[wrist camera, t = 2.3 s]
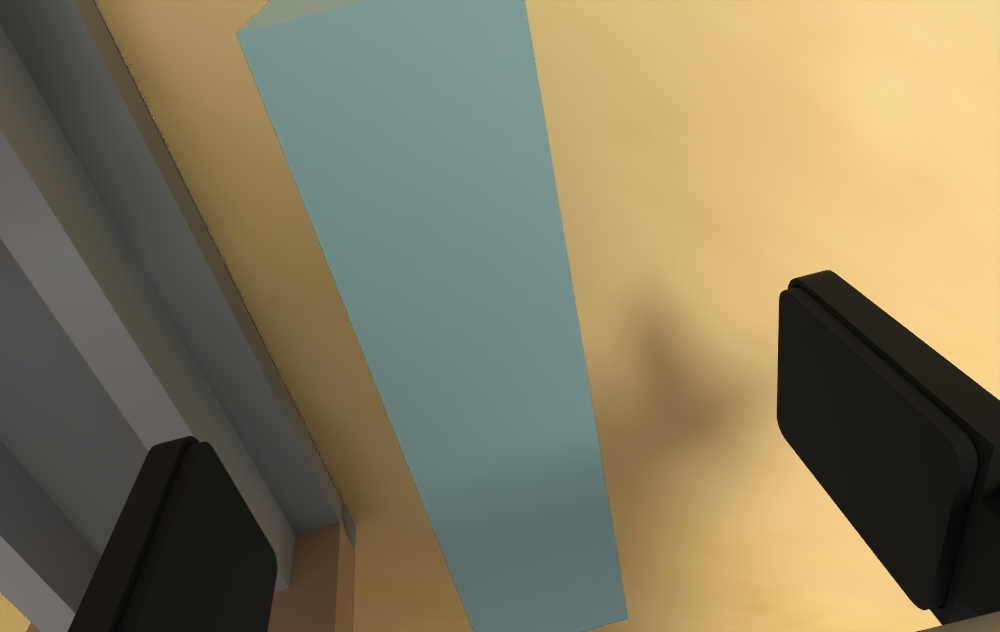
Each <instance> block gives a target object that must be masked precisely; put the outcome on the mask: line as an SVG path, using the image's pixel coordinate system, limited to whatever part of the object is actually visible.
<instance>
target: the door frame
mask: <svg viewBox="0 0 1000 632" xmlns="http://www.w3.org/2000/svg"><path fill="white" fill-rule="evenodd" d="M186 436H194V437H195V438H196V439H198V441H199V442H204V441H205V442H208V443H210V444H211V446H212V447H213V448H214V450H215V452H216V453H217V455H218V457H219V458H220V460H221V462H222V463H223V465H224V467H225V469H226V470H227V472H228V474H229V475H230V477H231V479H232V480H233V482H234V484H235V485H236V487H237V489H238V490H239V492H240V494H241V495H242V497H243V499H244V500H245V502H246V504H247V506H248V507H249V509H250V511H251V512H252V514H253V516H254V517H255V519H256V521H257V522H258V524H259V526H260V527H261V529H262V531H263V532H264V534H265V536H266V537H267V539H268V541H269V543H270V544H271V546H272V548H273V550H274V552H275V555H276V559H277V577H276V583H275V589H274V595H273V601H272V607H271V613H270V619H269V625H268V631H267V632H353V605H354V568H355V532H356V528H355V526H354V524H353V522H352V520H351V518H350V516H349V514H348V512H347V510H346V508H345V506H344V504H343V502H342V500H341V498H340V496H339V494H338V492H337V490H336V488H335V486H334V484H333V482H332V480H331V478H330V476H329V474H328V472H327V470H326V468H325V466H324V464H323V462H322V460H321V458H320V456H319V454H318V452H317V450H316V448H315V446H314V444H313V441H312V439H311V437H310V435H309V433H308V431H307V429H306V427H305V425H304V423H303V421H302V419H301V417H300V415H299V413H298V411H297V409H296V407H295V405H294V403H293V401H292V399H291V397H290V395H289V393H288V391H287V389H286V387H285V385H284V383H283V381H282V379H281V377H280V375H279V373H278V371H277V369H276V367H275V365H274V363H273V361H272V359H271V357H270V355H269V353H268V351H267V349H266V347H265V345H264V343H263V341H262V339H261V337H260V335H259V333H258V331H257V329H256V327H255V325H254V323H253V321H252V319H251V317H250V315H249V313H248V311H247V309H246V307H245V304H244V302H243V300H242V298H241V296H240V294H239V292H238V290H237V288H236V286H235V284H234V282H233V280H232V278H231V276H230V274H229V272H228V270H227V268H226V266H225V264H224V262H223V260H222V258H221V256H220V254H219V252H218V250H217V248H216V246H215V244H214V242H213V240H212V238H211V236H210V234H209V232H208V230H207V228H206V226H205V224H204V222H203V220H202V218H201V216H200V214H199V212H198V210H197V208H196V206H195V204H194V202H193V200H192V198H191V196H190V194H189V192H188V190H187V188H186V186H185V184H184V182H183V180H182V178H181V176H180V174H179V172H178V170H177V168H176V165H175V163H174V161H173V159H172V157H171V155H170V153H169V151H168V149H167V147H166V145H165V143H164V141H163V139H162V137H161V135H160V133H159V131H158V129H157V127H156V125H155V123H154V121H153V119H152V117H151V115H150V113H149V111H148V109H147V107H146V105H145V103H144V101H143V99H142V97H141V95H140V93H139V91H138V89H137V87H136V85H135V83H134V81H133V79H132V77H131V75H130V73H129V71H128V69H127V67H126V65H125V63H124V61H123V59H122V57H121V55H120V53H119V51H118V49H117V47H116V45H115V43H114V41H113V39H112V37H111V35H110V33H109V31H108V29H107V26H106V24H105V22H104V20H103V18H102V16H101V14H100V12H99V10H98V8H97V6H96V4H95V2H94V0H0V592H1V593H2V594H3V595H4V596H5V597H6V598H7V599H8V600H9V601H10V602H11V603H12V604H13V605H14V606H15V607H16V608H17V609H18V610H19V611H20V612H21V613H23V614H24V615H25V616H26V617H27V618H28V619H29V620H30V621H31V623H30V626H29V628H28V630H27V632H68V630H69V628H70V625H71V623H72V621H73V619H74V616H75V614H76V612H77V610H78V607H79V605H80V603H81V601H82V599H83V596H84V594H85V592H86V590H87V587H88V585H89V583H90V581H91V579H92V576H93V574H94V572H95V570H96V567H97V565H98V563H99V561H100V559H101V556H102V554H103V552H104V550H105V547H106V545H107V543H108V541H109V538H110V536H111V534H112V532H113V530H114V527H115V525H116V523H117V521H118V518H119V516H120V514H121V512H122V510H123V507H124V505H125V503H126V501H127V498H128V496H129V494H130V492H131V489H132V487H133V485H134V483H135V481H136V478H137V476H138V474H139V472H140V469H141V467H142V465H143V463H144V461H145V458H146V456H147V454H148V452H149V450H150V449H151V447H152V446H154V445H156V444H160V443H163V442H167V441H171V440H175V439H179V438H183V437H186Z"/></svg>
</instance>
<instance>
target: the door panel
mask: <svg viewBox="0 0 1000 632" xmlns="http://www.w3.org/2000/svg"><path fill="white" fill-rule="evenodd" d="M236 35H237V38H238V40H239V43H240V45H241V48H242V50H243V53H244V55H245V58H246V60H247V63H248V65H249V68H250V70H251V73H252V75H253V78H254V80H255V83H256V86H257V88H258V91H259V93H260V96H261V98H262V101H263V103H264V106H265V108H266V111H267V113H268V116H269V118H270V121H271V123H272V126H273V128H274V131H275V133H276V136H277V138H278V141H279V143H280V146H281V148H282V151H283V153H284V156H285V158H286V161H287V163H288V166H289V168H290V171H291V174H292V176H293V179H294V181H295V184H296V186H297V189H298V191H299V194H300V196H301V199H302V201H303V204H304V206H305V209H306V211H307V214H308V216H309V219H310V221H311V224H312V226H313V229H314V231H315V234H316V236H317V239H318V241H319V244H320V246H321V249H322V251H323V254H324V256H325V259H326V262H327V264H328V267H329V269H330V272H331V274H332V277H333V279H334V282H335V284H336V287H337V289H338V292H339V294H340V297H341V299H342V302H343V304H344V307H345V309H346V312H347V314H348V317H349V319H350V322H351V324H352V327H353V329H354V332H355V334H356V337H357V339H358V342H359V344H360V347H361V350H362V352H363V355H364V357H365V360H366V362H367V365H368V367H369V370H370V372H371V375H372V377H373V380H374V382H375V385H376V387H377V390H378V392H379V395H380V397H381V400H382V402H383V405H384V407H385V410H386V412H387V415H388V417H389V420H390V422H391V425H392V427H393V430H394V432H395V435H396V438H397V440H398V443H399V445H400V448H401V450H402V453H403V455H404V458H405V460H406V463H407V465H408V468H409V470H410V473H411V475H412V478H413V480H414V483H415V485H416V488H417V490H418V493H419V495H420V498H421V500H422V503H423V505H424V508H425V510H426V513H427V515H428V518H429V520H430V523H431V526H432V528H433V531H434V533H435V536H436V538H437V541H438V543H439V546H440V548H441V551H442V553H443V556H444V558H445V561H446V563H447V566H448V568H449V571H450V573H451V576H452V578H453V581H454V583H455V586H456V588H457V591H458V593H459V596H460V598H461V601H462V603H463V606H464V608H465V611H466V614H467V616H468V619H469V621H470V624H471V626H472V629H473V631H474V632H583V631H586V630H590V629H593V628H597V627H601V626H604V625H608V624H611V623H615V622H619V621H622V620H626V619H628V615H627V609H626V603H625V597H624V591H623V585H622V579H621V573H620V567H619V561H618V555H617V549H616V544H615V538H614V532H613V526H612V520H611V514H610V508H609V502H608V496H607V490H606V484H605V478H604V472H603V466H602V460H601V454H600V448H599V442H598V436H597V430H596V424H595V418H594V412H593V406H592V400H591V394H590V388H589V382H588V376H587V370H586V364H585V358H584V352H583V346H582V340H581V334H580V328H579V322H578V316H577V310H576V304H575V298H574V292H573V286H572V280H571V274H570V268H569V262H568V256H567V250H566V244H565V238H564V232H563V226H562V220H561V214H560V208H559V202H558V196H557V190H556V184H555V178H554V172H553V166H552V160H551V154H550V148H549V142H548V136H547V130H546V124H545V118H544V112H543V106H542V100H541V94H540V88H539V82H538V77H537V71H536V65H535V59H534V53H533V47H532V41H531V35H530V29H529V23H528V17H527V11H526V5H525V0H271V1H270V2H269V3H267V4H266V5H265V6H264V7H263V8H262V9H261V10H260V11H259V12H258V13H257V14H256V15H255V16H254V17H252V18H251V19H250V20H249V21H248V22H247V23H246V24H245V25H244V26H243V27H242V28H241V29H240V30H238V31H237V32H236Z"/></svg>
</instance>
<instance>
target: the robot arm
mask: <svg viewBox="0 0 1000 632" xmlns="http://www.w3.org/2000/svg"><path fill="white" fill-rule="evenodd" d="M777 421H778V425H779V428H780V431H781V433H782V435H783V436H784V438H785V439H786V441H787V442H788V443H789V445H790V446H791V447H792V448H793V450H794V451H795V452H796V454H797V455H798V456H799V457H800V459H801V460H802V461H803V463H804V464H805V465H806V466H807V468H808V469H809V470H810V472H811V473H812V474H813V475H814V477H815V478H816V479H817V481H818V482H819V483H820V484H821V486H822V487H823V488H824V490H825V491H826V492H827V493H828V495H829V496H830V497H831V499H832V500H833V501H834V502H835V504H836V505H837V506H838V508H839V509H840V510H841V511H842V513H843V514H844V515H845V517H846V518H847V519H848V520H849V522H850V523H851V524H852V526H853V527H854V528H855V529H856V531H857V532H858V533H859V535H860V536H861V537H862V538H863V540H864V541H865V542H866V544H867V545H868V546H869V547H870V549H871V550H872V551H873V553H874V554H875V555H876V556H877V558H878V559H879V560H880V562H881V563H882V564H883V565H884V567H885V568H886V569H887V571H888V572H889V573H890V574H891V576H892V577H893V578H894V580H895V581H896V582H897V583H898V585H899V586H900V587H901V589H902V590H903V591H904V592H905V594H906V595H907V596H908V598H909V599H910V600H911V601H912V602H913V603H914V604H915V605H916V606H917V607H918V608H920V609H922V610H927V609H930V610H931V611H932V613H933V614H934V615H935V616H936V618H937V619H938V620H939V621H940V623H941V624H942V626H938V627H934V628H930V629H926V630H921V631H917V632H1000V400H998V399H997V398H996V397H994V396H993V395H992V394H990V393H989V392H988V391H987V390H985V389H984V388H983V387H981V386H980V385H979V384H978V383H976V382H975V381H974V380H972V379H971V378H970V377H969V376H967V375H966V374H965V373H963V372H962V371H961V370H959V369H958V368H957V367H956V366H954V365H953V364H952V363H950V362H949V361H948V360H947V359H945V358H944V357H943V356H941V355H940V354H939V353H938V352H936V351H935V350H934V349H932V348H931V347H930V346H929V345H927V344H926V343H925V342H923V341H922V340H921V339H919V338H918V337H917V336H916V335H914V334H913V333H912V332H910V331H909V330H908V329H907V328H905V327H904V326H903V325H901V324H900V323H899V322H898V321H896V320H895V319H894V318H892V317H891V316H890V315H888V314H887V313H886V312H885V311H883V310H882V309H881V308H879V307H878V306H877V305H876V304H874V303H873V302H872V301H870V300H869V299H868V298H867V297H865V296H864V295H863V294H861V293H860V292H859V291H858V290H856V289H855V288H854V287H852V286H851V285H850V284H848V283H847V282H846V281H845V280H843V279H842V278H841V277H839V276H838V275H837V274H836V273H834V272H832V271H830V270H825V271H821V272H817V273H814V274H810V275H806V276H802V277H798V278H794V279H793V280H791V281H790V283H789V285H788V290H784V291H782V292H781V294H780V298H779V333H778V382H777ZM276 577H277V559H276V555H275V552H274V550H273V548H272V546H271V544H270V543H269V541H268V539H267V537H266V536H265V534H264V532H263V531H262V529H261V527H260V526H259V524H258V522H257V521H256V519H255V517H254V516H253V514H252V512H251V511H250V509H249V507H248V506H247V504H246V502H245V500H244V499H243V497H242V495H241V494H240V492H239V490H238V489H237V487H236V485H235V484H234V482H233V480H232V479H231V477H230V475H229V474H228V472H227V470H226V469H225V467H224V465H223V463H222V462H221V460H220V458H219V457H218V455H217V453H216V452H215V450H214V448H213V447H212V446H211V444H210V443H208V442H205V441H204V442H199V441H198V439H196V438H195V437H194V436H186V437H183V438H179V439H175V440H171V441H167V442H163V443H160V444H156V445H154V446H152V447H151V449H150V450H149V452H148V454H147V456H146V458H145V461H144V463H143V465H142V467H141V469H140V472H139V474H138V476H137V478H136V481H135V483H134V485H133V487H132V489H131V492H130V494H129V496H128V498H127V501H126V503H125V505H124V507H123V510H122V512H121V514H120V516H119V518H118V521H117V523H116V525H115V527H114V530H113V532H112V534H111V536H110V538H109V541H108V543H107V545H106V547H105V550H104V552H103V554H102V556H101V559H100V561H99V563H98V565H97V567H96V570H95V572H94V574H93V576H92V579H91V581H90V583H89V585H88V587H87V590H86V592H85V594H84V596H83V599H82V601H81V603H80V605H79V607H78V610H77V612H76V614H75V616H74V619H73V621H72V623H71V625H70V628H69V630H68V632H267V631H268V625H269V619H270V613H271V607H272V601H273V595H274V589H275V583H276Z"/></svg>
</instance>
